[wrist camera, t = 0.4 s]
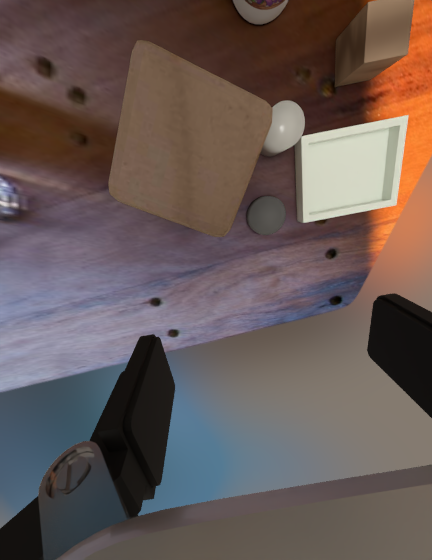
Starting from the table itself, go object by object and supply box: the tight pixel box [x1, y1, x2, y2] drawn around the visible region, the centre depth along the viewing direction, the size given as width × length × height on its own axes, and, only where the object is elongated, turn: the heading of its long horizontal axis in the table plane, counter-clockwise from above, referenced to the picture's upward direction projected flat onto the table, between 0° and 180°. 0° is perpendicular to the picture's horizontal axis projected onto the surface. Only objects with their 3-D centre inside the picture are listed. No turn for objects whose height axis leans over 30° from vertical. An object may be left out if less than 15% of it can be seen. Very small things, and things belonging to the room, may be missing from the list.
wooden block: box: [108, 40, 273, 237], centre depth 24 cm, size 10×10×20 cm
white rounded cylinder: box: [261, 101, 305, 157], centre depth 29 cm, size 5×5×6 cm
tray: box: [295, 115, 408, 223], centre depth 33 cm, size 12×15×2 cm
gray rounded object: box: [247, 196, 286, 235], centre depth 35 cm, size 6×6×2 cm
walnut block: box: [335, 0, 414, 87], centre depth 26 cm, size 5×5×6 cm
